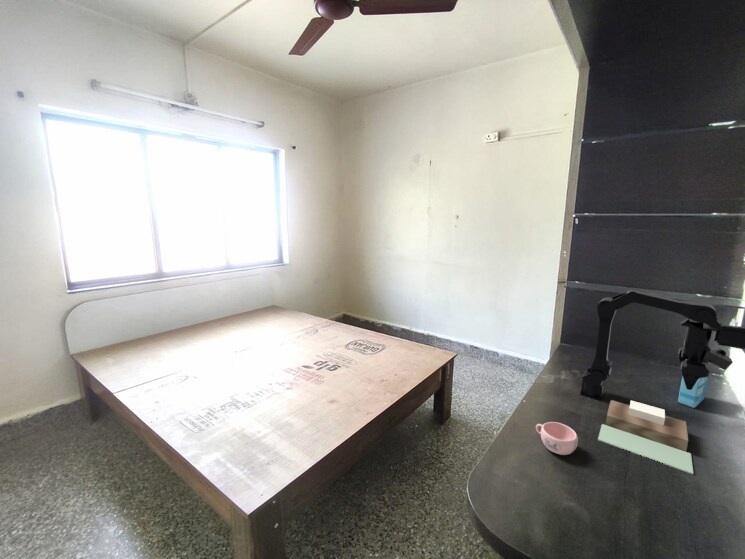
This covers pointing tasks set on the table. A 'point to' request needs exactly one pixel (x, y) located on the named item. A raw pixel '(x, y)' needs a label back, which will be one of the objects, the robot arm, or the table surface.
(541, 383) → the table surface
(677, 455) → the mat
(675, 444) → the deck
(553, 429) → the mug
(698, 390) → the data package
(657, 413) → the tile
